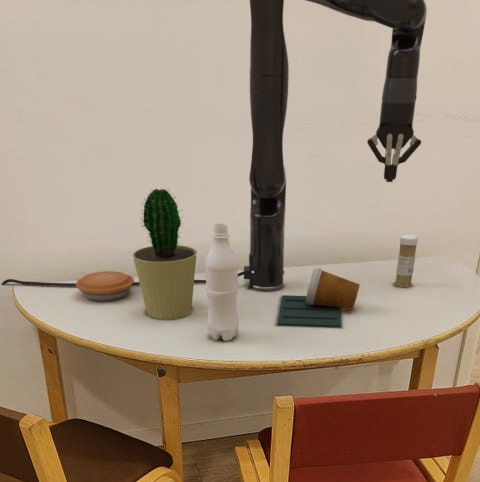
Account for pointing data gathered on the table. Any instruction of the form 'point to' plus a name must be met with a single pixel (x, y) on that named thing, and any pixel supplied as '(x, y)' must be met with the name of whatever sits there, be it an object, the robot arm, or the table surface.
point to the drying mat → (307, 313)
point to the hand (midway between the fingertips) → (389, 181)
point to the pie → (105, 285)
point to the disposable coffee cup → (331, 290)
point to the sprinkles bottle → (406, 260)
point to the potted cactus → (165, 260)
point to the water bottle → (222, 286)
